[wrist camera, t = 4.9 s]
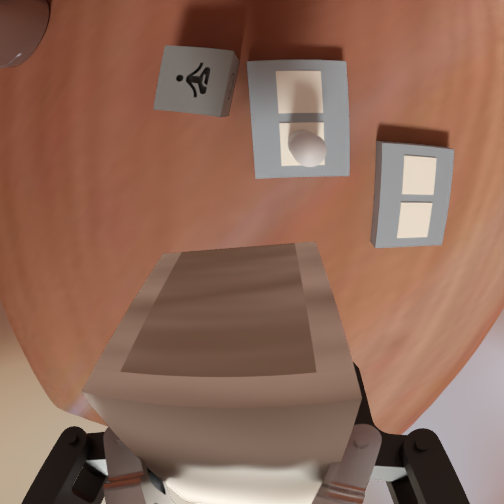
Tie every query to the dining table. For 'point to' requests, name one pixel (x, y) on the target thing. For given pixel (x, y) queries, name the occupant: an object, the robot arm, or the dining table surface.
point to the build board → (411, 194)
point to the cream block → (232, 375)
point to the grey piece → (299, 118)
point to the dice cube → (196, 80)
